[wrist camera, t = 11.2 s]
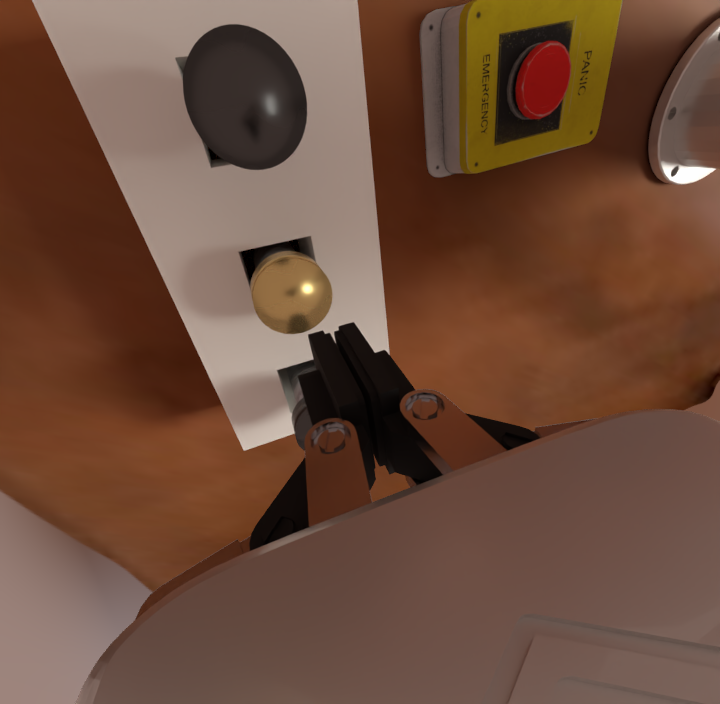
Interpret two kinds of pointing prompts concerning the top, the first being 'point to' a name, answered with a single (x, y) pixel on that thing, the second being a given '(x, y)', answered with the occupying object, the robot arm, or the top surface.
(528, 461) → the robot arm
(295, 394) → the far plunger
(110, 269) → the top surface
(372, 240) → the block
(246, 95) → the near plunger
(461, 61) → the emergency button
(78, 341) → the top surface
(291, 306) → the brass plunger
